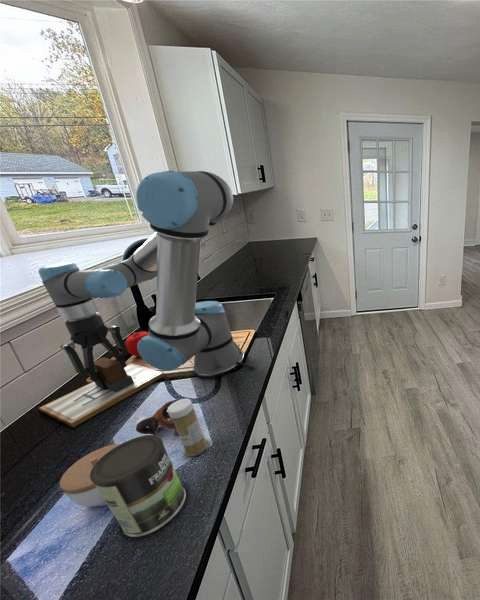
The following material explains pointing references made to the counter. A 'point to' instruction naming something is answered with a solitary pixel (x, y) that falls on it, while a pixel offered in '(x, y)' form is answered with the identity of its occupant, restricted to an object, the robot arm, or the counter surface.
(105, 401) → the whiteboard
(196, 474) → the counter surface
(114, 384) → the eraser
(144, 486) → the coffee can
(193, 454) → the sprinkles bottle
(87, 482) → the trinket box
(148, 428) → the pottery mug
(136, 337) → the fruit
